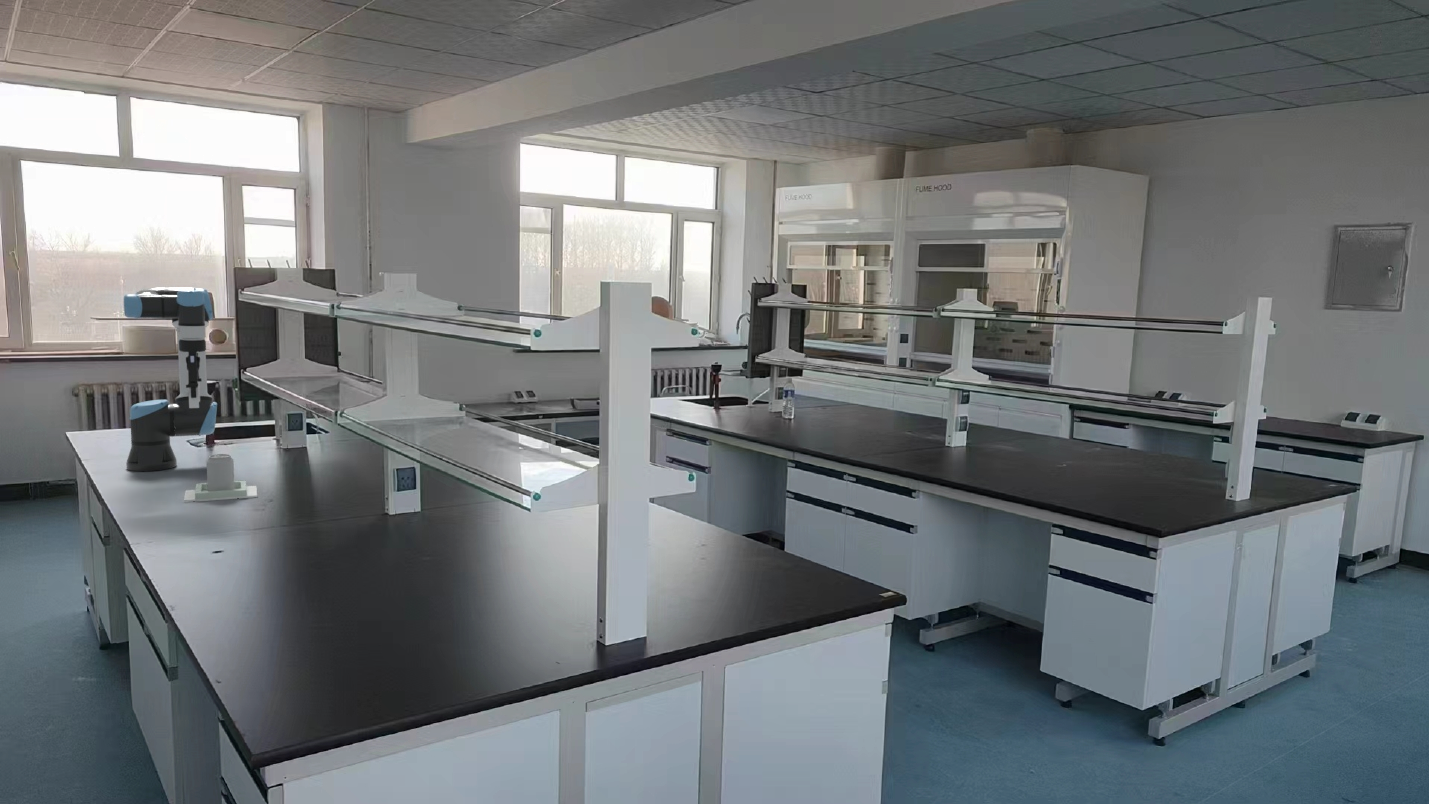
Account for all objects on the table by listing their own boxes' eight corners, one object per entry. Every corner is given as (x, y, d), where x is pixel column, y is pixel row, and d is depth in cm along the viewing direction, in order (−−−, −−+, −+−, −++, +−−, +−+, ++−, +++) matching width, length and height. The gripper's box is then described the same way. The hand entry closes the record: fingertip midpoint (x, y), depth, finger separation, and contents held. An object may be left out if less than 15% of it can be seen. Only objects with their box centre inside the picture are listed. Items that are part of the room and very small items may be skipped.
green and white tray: (185, 492, 295) (185, 484, 294) (256, 487, 304) (256, 480, 303) (183, 502, 282) (183, 494, 282) (257, 497, 291) (257, 489, 291)
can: (226, 495, 289) (225, 457, 288) (202, 495, 289) (201, 457, 288) (239, 490, 297) (238, 453, 295) (216, 489, 297) (214, 452, 295)
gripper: (180, 335, 307) (183, 399, 310) (176, 342, 285) (179, 410, 288) (206, 335, 310) (208, 399, 313) (204, 342, 288) (207, 410, 291)
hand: (194, 404), depth 300 cm, fingers open, 13 cm apart
